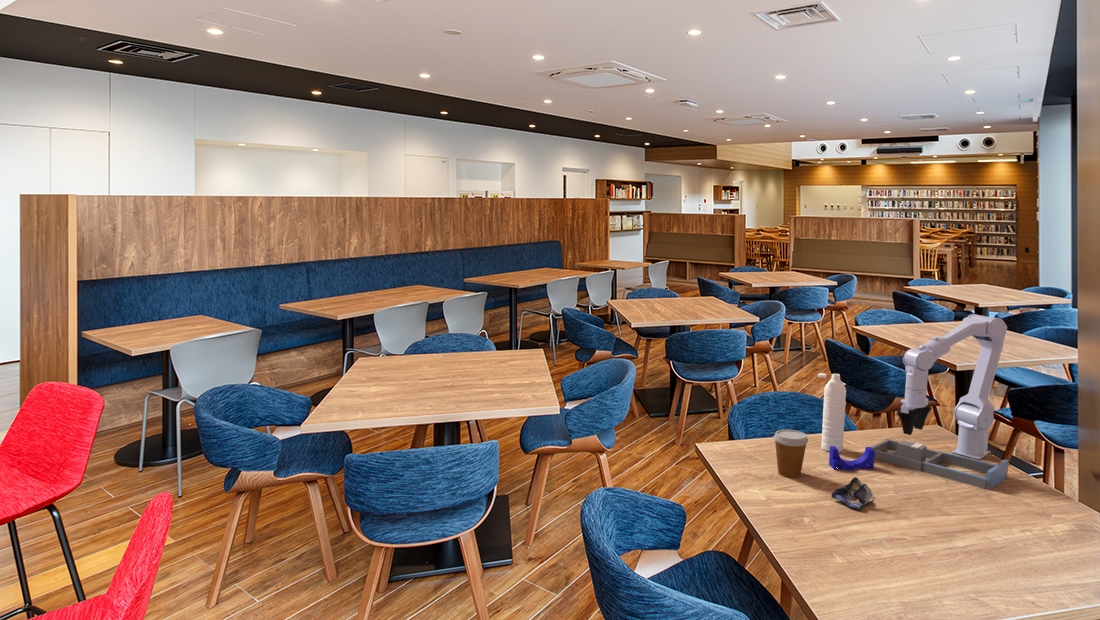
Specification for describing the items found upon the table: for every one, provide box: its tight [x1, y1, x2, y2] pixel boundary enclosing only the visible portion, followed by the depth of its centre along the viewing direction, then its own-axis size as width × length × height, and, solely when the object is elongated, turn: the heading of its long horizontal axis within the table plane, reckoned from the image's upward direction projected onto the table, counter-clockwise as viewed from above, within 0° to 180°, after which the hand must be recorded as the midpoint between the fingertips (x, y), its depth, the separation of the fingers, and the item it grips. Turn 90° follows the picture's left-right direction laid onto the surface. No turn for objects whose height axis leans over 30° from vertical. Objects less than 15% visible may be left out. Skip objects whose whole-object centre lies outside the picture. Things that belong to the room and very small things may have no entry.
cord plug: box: [886, 439, 928, 462], centre depth 208 cm, size 4×11×5 cm, turn 39°
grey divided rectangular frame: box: [870, 438, 1009, 490], centre depth 202 cm, size 14×34×5 cm, turn 39°
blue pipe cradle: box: [828, 446, 875, 471], centre depth 202 cm, size 12×4×6 cm, turn 85°
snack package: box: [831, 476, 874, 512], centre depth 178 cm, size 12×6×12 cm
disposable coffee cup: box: [773, 429, 809, 478], centre depth 197 cm, size 10×10×12 cm
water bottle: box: [817, 372, 847, 453], centre depth 216 cm, size 9×6×25 cm
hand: (912, 431), depth 206 cm, fingers open, 7 cm apart
